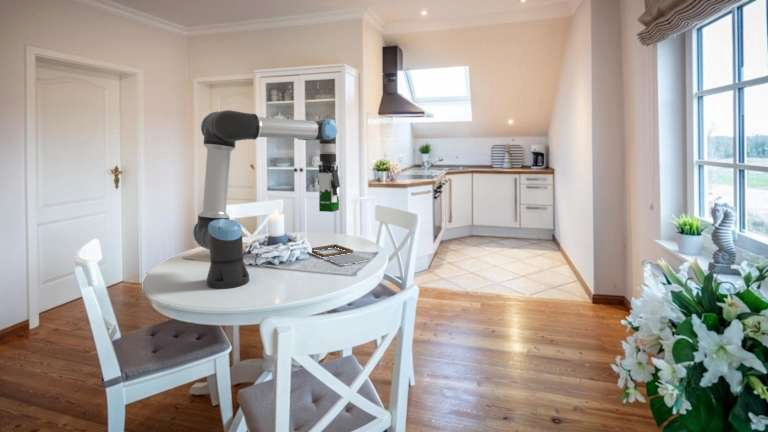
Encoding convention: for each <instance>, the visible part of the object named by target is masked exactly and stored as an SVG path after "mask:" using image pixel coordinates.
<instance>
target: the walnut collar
mask: <svg viewBox="0 0 768 432" xmlns="http://www.w3.org/2000/svg"><path fill="white" fill-rule="evenodd" d="M335 247H336V248H339V249H342V250H345V251H341V250H340V251H336V252H330V253H322V252H320V251H314V250H322V249H328V248H335ZM311 248H312V253H314V254H316V255H319V256H321V257H329V256H335V255H341V254H347V253H353V254H354V250H353V249H351V248H349V247H345V246H342V245H340V244H337V243H336V244H328V245H322V246H317V247H311Z"/></svg>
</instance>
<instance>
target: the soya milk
mask: <svg viewBox="0 0 768 432" xmlns="http://www.w3.org/2000/svg"><path fill="white" fill-rule="evenodd" d="M338 176H340V173H339V172H338ZM317 177H318V178H317V180H318V179H319V185H318V201H319V204H318V206H319V210H318V211H319V212H323V213H324V212H327V213H329V212H330V213H334V212H336V211H339V210H340V196H339V195H340V187H338V188H337V202H331V187H332V186H331V179H333V176H332V173H319V172H318V173H317Z"/></svg>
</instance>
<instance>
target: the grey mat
mask: <svg viewBox="0 0 768 432" xmlns="http://www.w3.org/2000/svg"><path fill="white" fill-rule="evenodd" d="M327 259H329V260H332V261H334V262H337V263H339V264H342V265H343V264H348V263H354V262H359V261H364V260H369V261H370V259H369V258H366V257H363V256H360V255H357V254H356V253H355V254H354V253H353V254H352V253H351V254H345V255H340V256H334V257H328V258H327Z"/></svg>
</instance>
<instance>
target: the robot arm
mask: <svg viewBox="0 0 768 432" xmlns="http://www.w3.org/2000/svg"><path fill="white" fill-rule="evenodd" d="M200 130H201V131H200V132H201V134H202V136H203V146H204V147H205V148H206V162H205V175H204V176H205V177H204V189H203V202H202V211H201V212H199V213H198V214H197V215H198V216H197V222H196V224H195V225H194V226H193V230H192V234H193V238H194V240H195V242H196V243H197V245H199V246H200V247H201V248H204V249H206V250H209V257H210V266H209V269H208V273H207V277H206V285H207V286H208V287H209V288H213V289H230V288H237V287H241V286H244V285H246V284H248V283H249V282H250V273H249V272H248V268H247V266H246V264H245V261H244V247H243V245H244V243H243V229H242V228H243V227H242V224H241V223H240V222H239V221H237V220H234V219H230V215H229V214H228V213H227V203H228V202H227V200H228V191H229V190H228V189H229V178H230V177H229V174H230V166H231V165H230V163H231V153H232V151H234V150H235V149H236V142H239V141H246V140H257V139H258V138H270V139H271V138H272V139H273V138H276V139H277V138H279V139H297V140H299V141H318V142H319V145H318V147H319V153H320V154H319V161H320V163H321V162H322V164H319V165H318V173H332V176H333V179H331V186H332V187H331V202H337V188H338V187H339V188H340V186H341V185H340V177H339V176H340V175H339V176H338V173H339V165H335V162H337V154H336V152H337V151H336V147H337V146H336V141H337V139H336V136H337V135H338V127H337V125H336V121H335V120H334V119H333V118H332V119H331V118H330V119H329V118H323V119H321V118H320V119H319V120H304V119H293V118H277V117H267V116H266V117H264V116H258V115H257V113H249V112H243V111H236V110H231V109H230V110H229V109H227V110H221V111H213V112H211V113H208V114H207V115H206V116H205V117H204V118H203V119H202V121H201V124H200ZM317 185H318V186H319V179H318V178H317Z"/></svg>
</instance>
